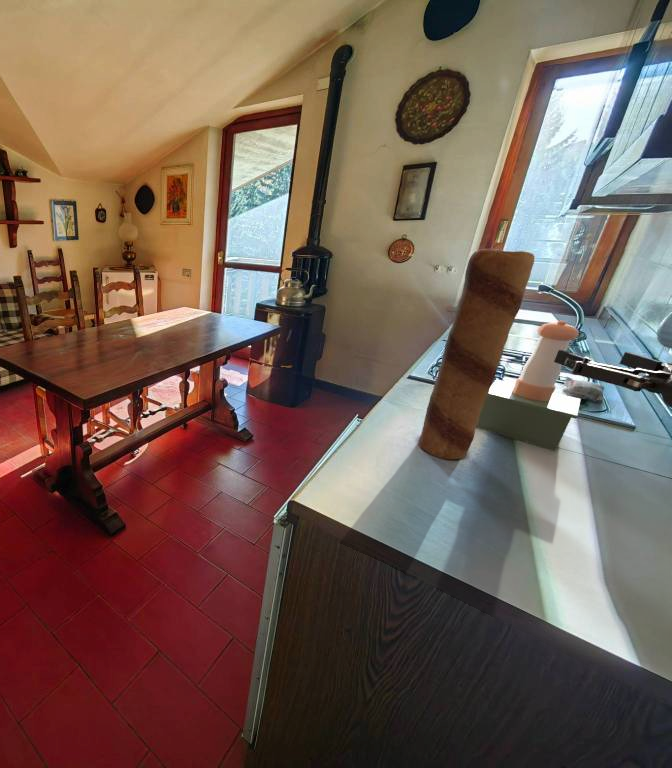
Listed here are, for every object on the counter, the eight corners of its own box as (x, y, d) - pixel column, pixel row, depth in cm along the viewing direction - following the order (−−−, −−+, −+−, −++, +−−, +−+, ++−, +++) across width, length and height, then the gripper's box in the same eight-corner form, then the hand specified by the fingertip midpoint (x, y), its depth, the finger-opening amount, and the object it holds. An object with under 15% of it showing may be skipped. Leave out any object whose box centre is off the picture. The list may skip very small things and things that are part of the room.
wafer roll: (408, 434, 99) (464, 247, 81) (456, 441, 96) (525, 249, 78) (420, 455, 90) (486, 250, 72) (473, 464, 87) (556, 252, 69)
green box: (560, 431, 101) (575, 400, 98) (555, 451, 92) (571, 417, 89) (484, 411, 112) (495, 382, 109) (473, 426, 103) (484, 395, 100)
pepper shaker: (551, 395, 98) (584, 321, 91) (549, 404, 94) (584, 326, 86) (513, 387, 103) (542, 316, 96) (510, 394, 98) (540, 320, 91)
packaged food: (559, 397, 122) (566, 383, 120) (561, 387, 129) (568, 374, 127) (599, 407, 116) (607, 392, 114) (599, 396, 123) (606, 382, 121)
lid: (579, 401, 97) (580, 398, 97) (576, 418, 88) (577, 415, 88) (495, 382, 109) (496, 379, 108) (484, 395, 100) (485, 392, 99)
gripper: (623, 414, 67) (524, 371, 87) (779, 420, 66) (643, 374, 85) (644, 374, 64) (537, 338, 84) (808, 379, 63) (660, 342, 82)
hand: (590, 356), depth 85 cm, fingers open, 13 cm apart
